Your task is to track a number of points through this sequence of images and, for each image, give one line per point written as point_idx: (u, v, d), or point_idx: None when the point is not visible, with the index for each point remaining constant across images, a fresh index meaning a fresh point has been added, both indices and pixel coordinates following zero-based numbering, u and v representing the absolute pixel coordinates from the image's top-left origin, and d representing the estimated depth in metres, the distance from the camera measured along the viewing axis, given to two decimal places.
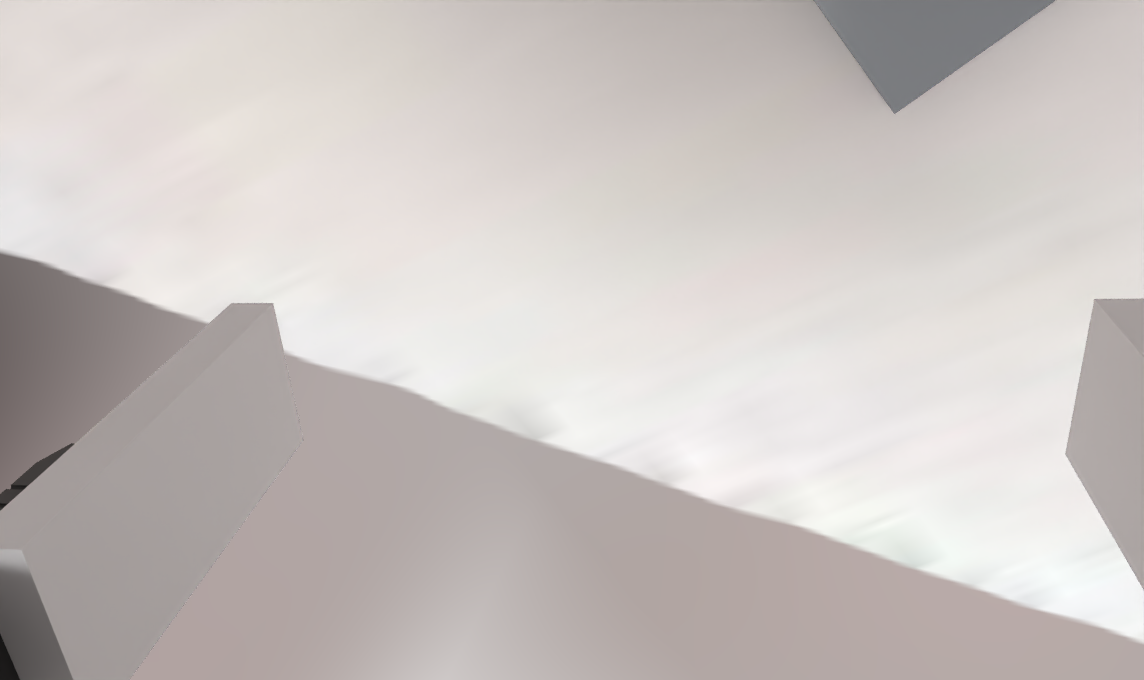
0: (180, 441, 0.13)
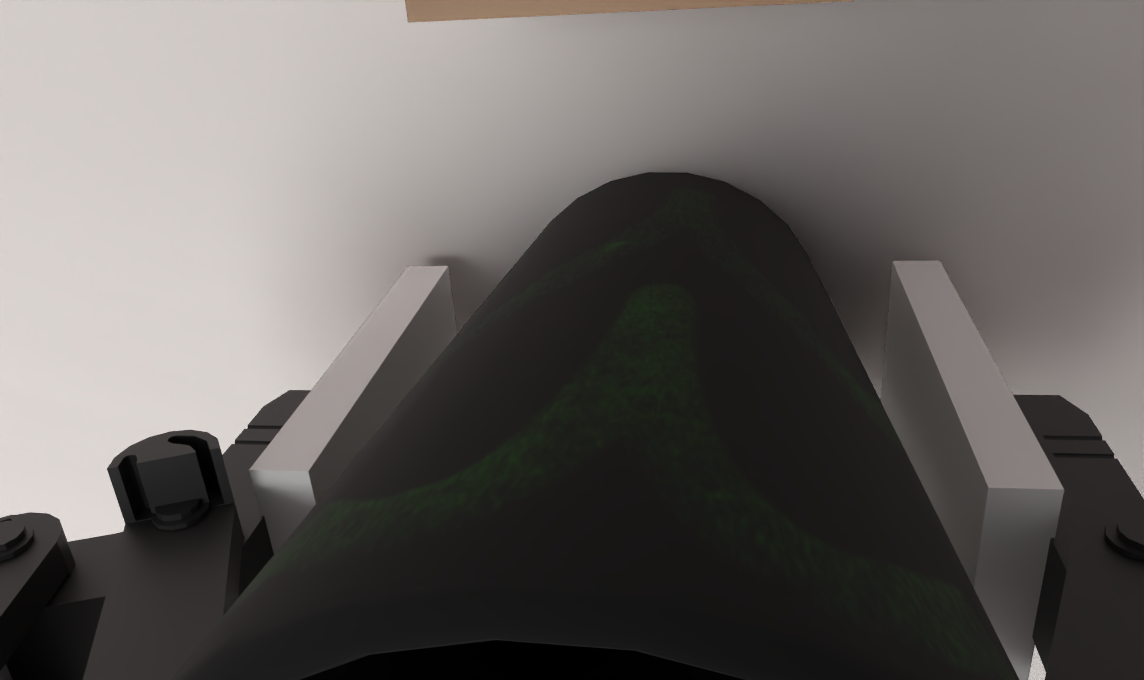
0: (395, 386, 0.14)
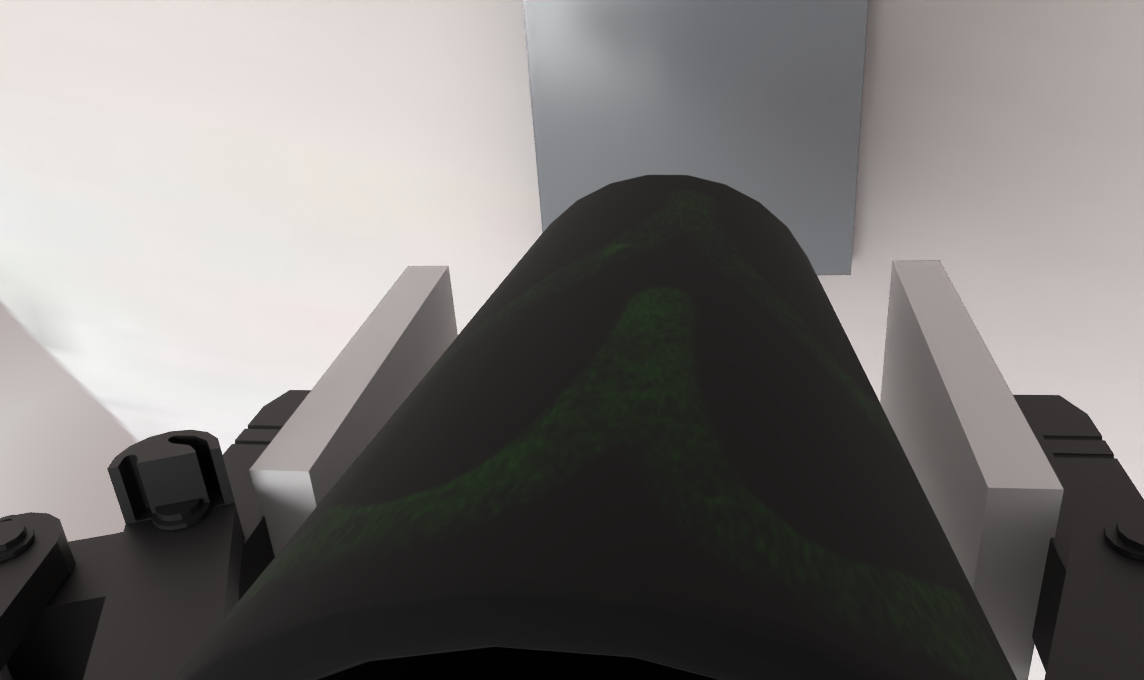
0: (395, 386, 0.14)
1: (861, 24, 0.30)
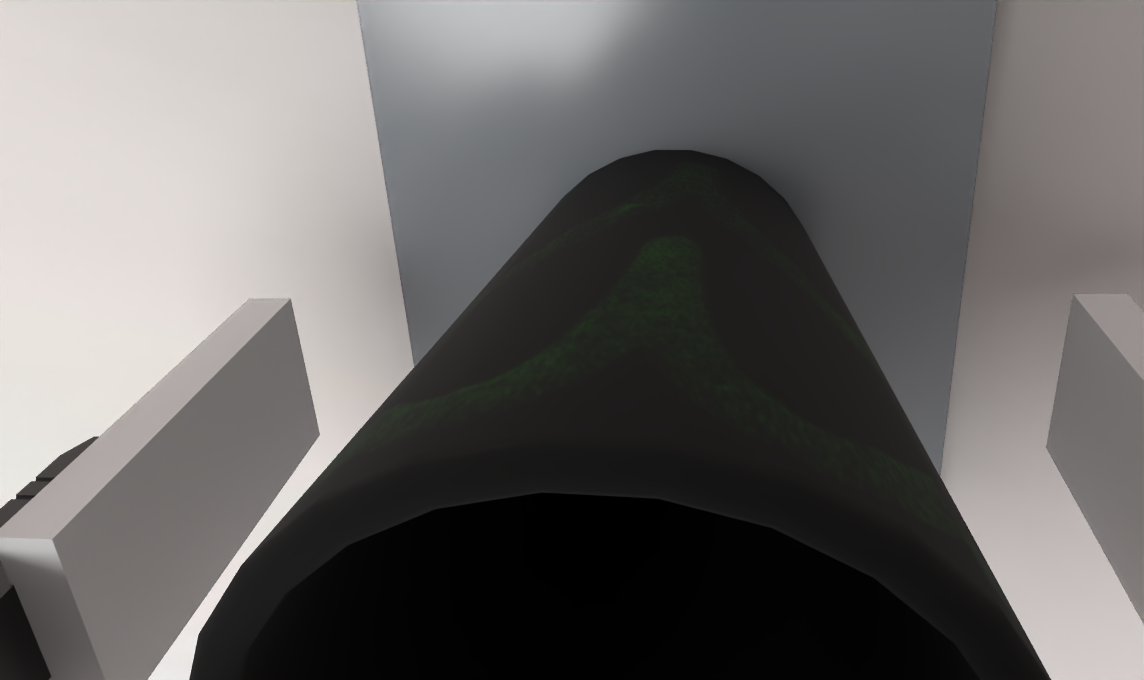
0: (203, 433, 0.13)
1: (969, 153, 0.17)
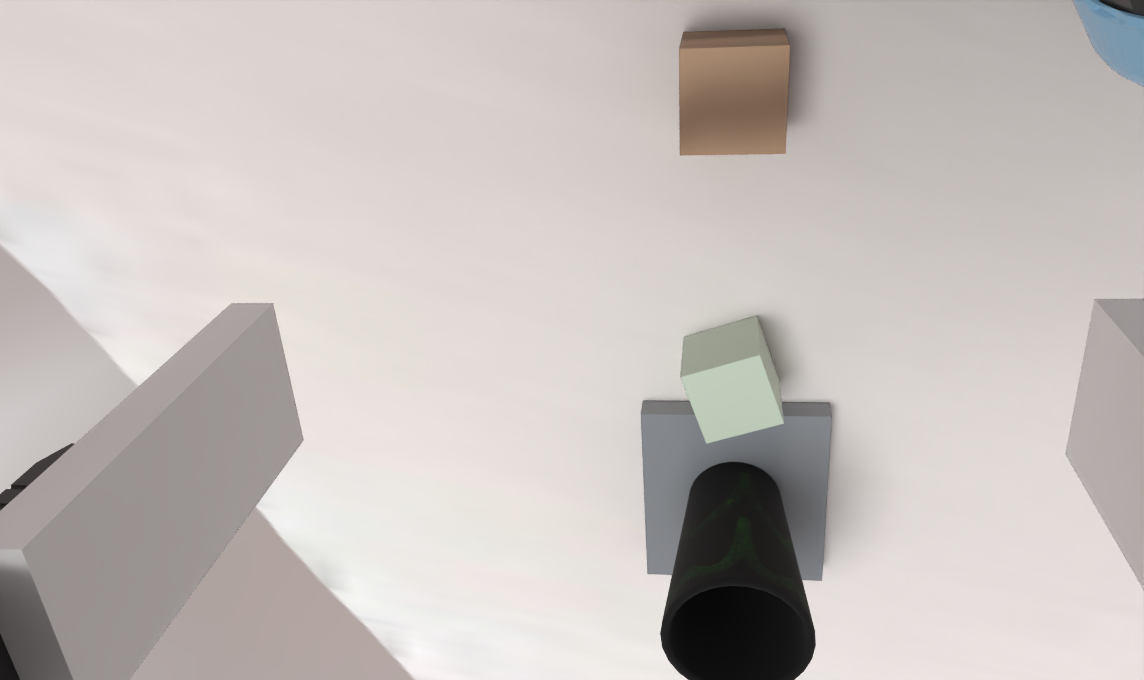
0: (180, 441, 0.13)
1: (825, 466, 0.57)
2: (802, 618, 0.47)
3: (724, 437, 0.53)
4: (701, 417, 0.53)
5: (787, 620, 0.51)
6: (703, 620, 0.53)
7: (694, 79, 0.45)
